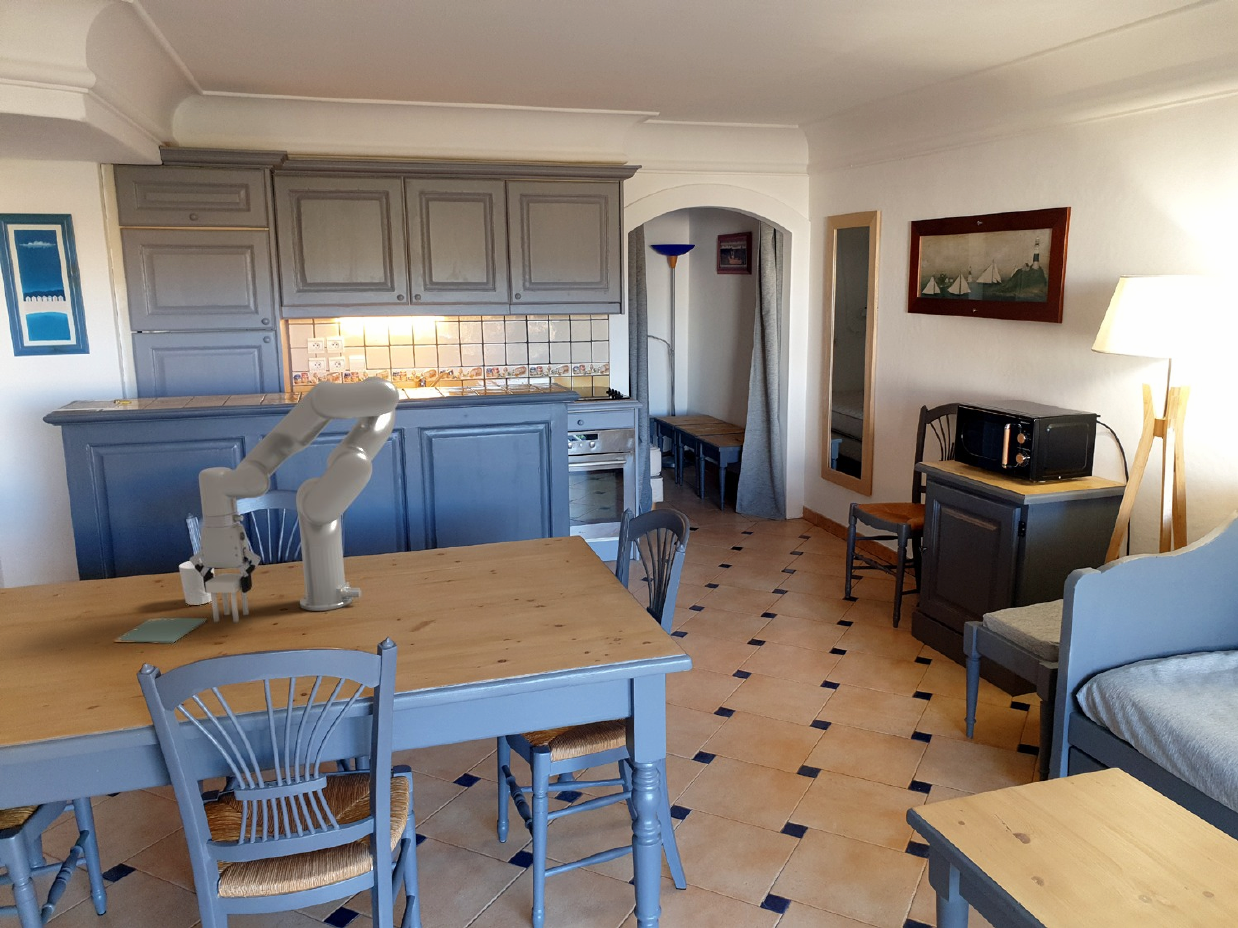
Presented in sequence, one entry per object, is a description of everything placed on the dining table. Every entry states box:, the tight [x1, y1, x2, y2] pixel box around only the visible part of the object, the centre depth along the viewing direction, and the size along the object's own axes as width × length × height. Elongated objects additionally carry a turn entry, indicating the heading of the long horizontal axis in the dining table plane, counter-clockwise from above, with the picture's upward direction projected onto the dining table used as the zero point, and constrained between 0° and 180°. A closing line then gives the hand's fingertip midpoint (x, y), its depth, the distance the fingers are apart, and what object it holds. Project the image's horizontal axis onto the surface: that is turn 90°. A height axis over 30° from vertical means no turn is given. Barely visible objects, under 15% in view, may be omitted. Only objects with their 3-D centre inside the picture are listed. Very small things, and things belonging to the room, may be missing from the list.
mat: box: [116, 617, 208, 644], centre depth 207 cm, size 14×14×1 cm
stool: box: [205, 572, 250, 623], centre depth 214 cm, size 7×7×10 cm
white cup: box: [178, 558, 215, 605], centre depth 226 cm, size 8×8×10 cm
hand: (228, 590), depth 214 cm, fingers open, 8 cm apart
